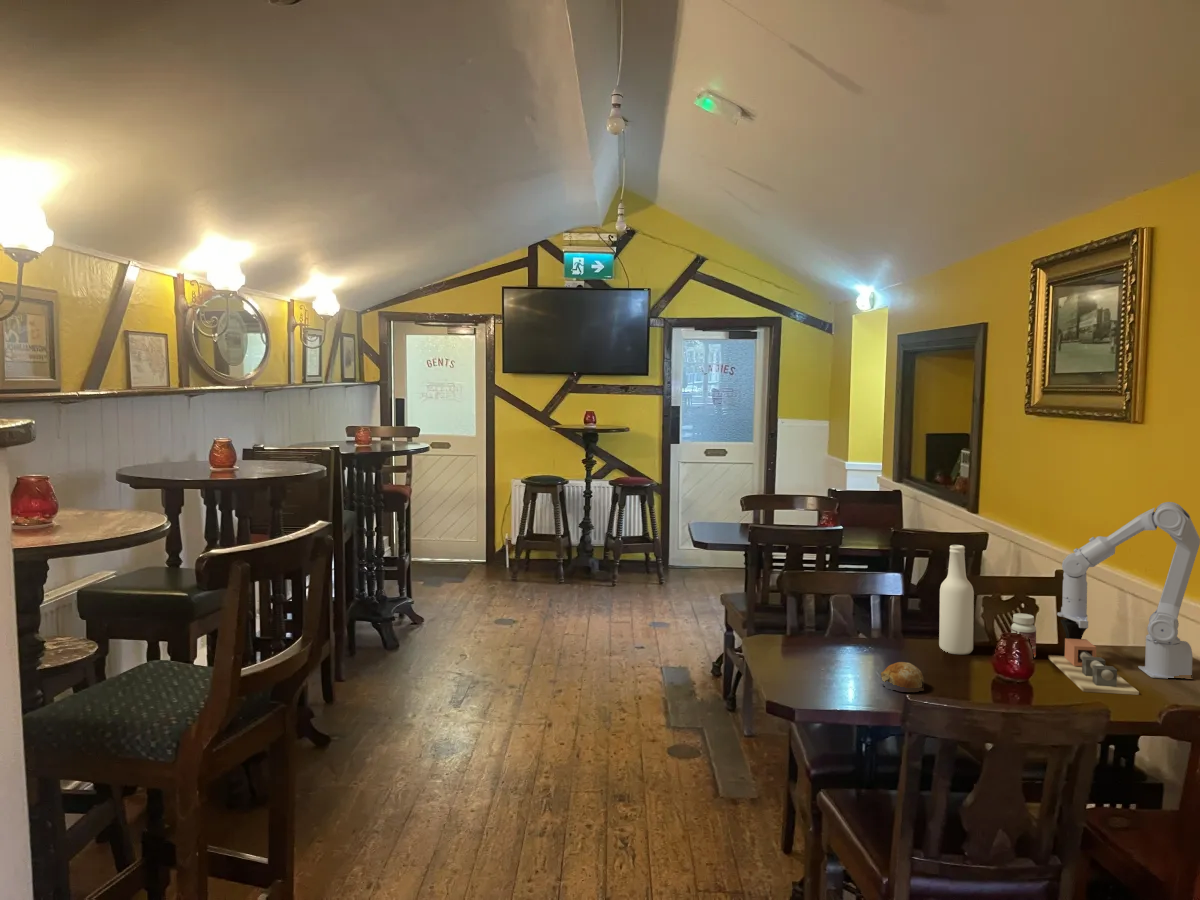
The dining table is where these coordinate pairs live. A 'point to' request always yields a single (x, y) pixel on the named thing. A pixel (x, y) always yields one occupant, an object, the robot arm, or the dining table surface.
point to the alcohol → (956, 606)
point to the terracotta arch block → (1074, 646)
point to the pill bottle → (1025, 628)
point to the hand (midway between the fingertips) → (1073, 647)
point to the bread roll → (903, 675)
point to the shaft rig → (1093, 674)
